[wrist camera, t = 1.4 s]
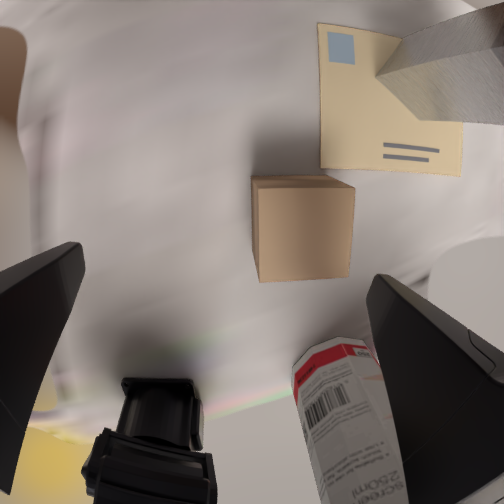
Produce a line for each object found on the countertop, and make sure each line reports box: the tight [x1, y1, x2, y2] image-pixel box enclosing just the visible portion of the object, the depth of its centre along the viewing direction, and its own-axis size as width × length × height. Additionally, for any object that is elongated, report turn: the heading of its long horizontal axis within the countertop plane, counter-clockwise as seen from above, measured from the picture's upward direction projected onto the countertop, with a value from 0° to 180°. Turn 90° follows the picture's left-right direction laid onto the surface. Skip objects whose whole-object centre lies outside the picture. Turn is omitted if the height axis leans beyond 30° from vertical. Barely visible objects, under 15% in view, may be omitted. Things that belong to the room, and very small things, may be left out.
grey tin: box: [375, 2, 504, 125], centre depth 12 cm, size 5×5×12 cm
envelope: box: [317, 23, 463, 177], centre depth 18 cm, size 12×10×1 cm
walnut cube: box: [251, 175, 355, 283], centre depth 19 cm, size 5×5×5 cm
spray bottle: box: [292, 337, 409, 504], centre depth 15 cm, size 8×7×25 cm
